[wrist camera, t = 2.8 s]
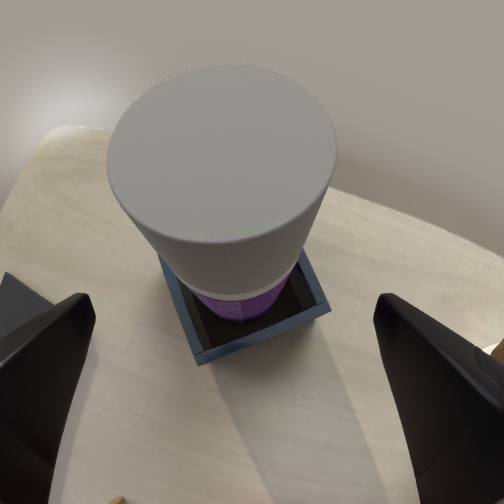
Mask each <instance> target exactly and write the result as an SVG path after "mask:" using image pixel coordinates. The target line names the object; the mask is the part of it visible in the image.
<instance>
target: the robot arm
mask: <svg viewBox="0 0 504 504" xmlns="http://www.w3.org/2000/svg"><path fill="white" fill-rule="evenodd" d="M95 321H96V315H95V311H94V309H93V306H92V303H91V300H90V297H89V295H88V294H86V293H75V294H73V295H72V296H70V297H68V298H66V299H65V300H63V301H61V302H60V303H58V304H56V305H54V306H53V307H51V308H49V309H48V310H46V311H44V312H43V313H41V314H39V315H38V316H36V317H34V318H33V319H31V320H29V321H28V322H26V323H25V324H23V325H21V326H20V327H18V328H16V329H15V330H13V331H12V332H10V333H8V334H7V335H5V336H4V337H2V338H0V504H48V501H49V495H50V489H51V484H52V479H53V474H54V468H55V464H56V459H57V455H58V451H59V446H60V442H61V438H62V435H63V431H64V427H65V423H66V420H67V416H68V413H69V409H70V406H71V403H72V399H73V396H74V393H75V390H76V387H77V384H78V381H79V378H80V375H81V372H82V369H83V366H84V363H85V360H86V356H87V352H88V348H89V344H90V340H91V336H92V332H93V329H94V325H95ZM373 322H374V326H375V331H376V335H377V339H378V344H379V348H380V353H381V357H382V362H383V365H384V368H385V371H386V375H387V378H388V381H389V384H390V387H391V390H392V393H393V397H394V400H395V403H396V406H397V410H398V413H399V417H400V420H401V424H402V427H403V431H404V435H405V438H406V442H407V446H408V450H409V454H410V458H411V462H412V466H413V470H414V474H415V479H416V484H417V489H418V494H419V498H420V503H421V504H504V364H503V363H502V362H500V361H498V360H496V359H495V358H493V357H492V356H490V355H489V354H487V353H486V352H484V351H483V350H481V349H480V348H478V347H477V346H475V347H474V345H473V344H472V343H470V342H469V341H467V340H466V339H464V338H463V337H461V336H460V335H458V334H457V333H455V332H454V331H452V330H451V329H449V328H447V327H446V326H444V325H443V324H441V323H440V322H438V321H436V320H435V319H433V318H432V317H430V316H429V315H427V314H425V313H424V312H422V311H421V310H419V309H417V308H416V307H414V306H413V305H411V304H409V303H408V302H406V301H405V300H403V299H401V298H400V297H398V296H397V295H395V294H393V293H383V294H381V295H380V296H379V298H378V301H377V304H376V308H375V312H374V315H373Z"/></svg>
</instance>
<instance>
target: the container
mask: <svg viewBox="0 0 504 504" xmlns="http://www.w3.org/2000/svg"><path fill="white" fill-rule="evenodd" d="M336 160H337V139H336V134H335V130H334V127H333V124H332V121H331V119H330V117H329V115H328V113H327V111H326V110H325V108H324V107H323V105H322V104H321V103H320V102H319V100H318V99H317V98H316V97H315V96H314V95H313V94H312V93H311V92H310V91H309V90H307V89H306V88H305V87H304V86H302V85H301V84H299V83H298V82H296V81H295V80H293V79H291V78H289V77H287V76H285V75H283V74H281V73H279V72H276V71H273V70H270V69H267V68H263V67H259V66H254V65H248V64H238V63H237V64H236V63H221V64H211V65H205V66H199V67H195V68H192V69H188V70H185V71H182V72H179V73H177V74H174V75H172V76H170V77H168V78H166V79H164V80H162V81H160V82H159V83H157V84H156V85H154V86H152V87H151V88H149V89H148V90H147V91H145V92H144V93H143V94H142V95H141V96H139V97H138V98H137V99H136V100H135V101H134V102H133V103H132V104H131V105H130V106H129V108H128V109H127V110H126V111H125V113H124V114H123V115H122V117H121V119H120V120H119V122H118V123H117V125H116V127H115V129H114V132H113V134H112V137H111V140H110V143H109V147H108V152H107V174H108V179H109V183H110V186H111V189H112V192H113V194H114V196H115V198H116V200H117V201H118V203H119V204H120V206H121V207H122V208H123V210H124V211H125V212H126V214H127V215H128V216H129V218H130V219H131V220H132V221H133V223H134V224H135V225H136V227H137V228H138V229H139V230H140V232H141V233H142V234H143V235H144V237H145V238H146V239H147V240H148V242H149V243H150V244H151V245H152V247H153V248H154V249H155V250H156V252H157V253H158V254H159V255H160V256H161V258H162V259H163V260H164V261H165V262H166V264H167V265H168V266H169V267H170V269H171V270H172V271H173V272H174V274H175V275H176V276H177V277H178V279H179V280H180V281H181V282H182V283H184V284H185V285H186V286H187V287H188V288H189V289H190V290H191V291H192V292H193V293H194V294H195V295H196V296H197V297H198V298H199V299H200V300H201V301H202V302H203V303H204V304H205V305H206V306H207V307H208V308H209V309H211V310H212V311H213V312H214V313H215V314H216V315H217V316H218V317H220V318H221V319H223V320H225V321H228V322H230V323H235V324H246V323H251V322H254V321H256V320H258V319H260V318H261V317H263V316H264V315H265V314H266V313H267V312H268V311H269V310H270V309H271V307H272V306H273V304H274V302H275V300H276V299H277V297H278V295H279V293H280V291H281V290H282V288H283V286H284V284H285V282H286V281H287V279H288V277H289V275H290V273H291V272H292V270H293V268H294V266H295V264H296V262H297V260H298V258H299V256H300V253H301V250H302V248H303V246H304V243H305V241H306V239H307V236H308V234H309V232H310V229H311V227H312V225H313V222H314V220H315V217H316V215H317V213H318V210H319V208H320V205H321V203H322V200H323V198H324V195H325V193H326V191H327V188H328V186H329V183H330V181H331V178H332V175H333V172H334V169H335V165H336Z"/></svg>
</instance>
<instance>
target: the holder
mask: <svg viewBox="0 0 504 504" xmlns="http://www.w3.org/2000/svg"><path fill="white" fill-rule="evenodd" d="M157 254H158V253H157ZM158 257H159V260H160V263H161V267H162V270H163V273H164V276H165V279H166V282H167V285H168V288H169V291H170V294H171V296H172V299H173V302H174V305H175V308H176V311H177V313H178V316H179V319H180V322H181V324H182V327H183V330H184V332H185V335H186V338H187V340H188V343H189V346H190V348H191V351H192V353H193V355H194V358H195V361H196V363H197V366H201V365H204V364H206V363H209V362H212V361H214V360H217V359H220V358H222V357H225V356H228V355H230V354H233V353H235V352H238V351H241V350H243V349H246V348H248V347H251V346H253V345H256V344H258V343H260V342H263V341H265V340H268V339H270V338H272V337H275V336H277V335H280V334H282V333H284V332H286V331H289V330H291V329H293V328H296V327H298V326H300V325H302V324H305V323H307V322H309V321H311V320H313V319H316V318H318V317H320V316H322V315H324V314H326V313H328V312H331V311H332V310H331V308H330V305H329V303H328V301H327V299H326V296H325V294H324V292H323V290H322V288H321V286H320V283H319V281H318V279H317V277H316V275H315V273H314V270H313V268H312V266H311V264H310V262H309V260H308V258H307V256H306V254H305V251H304V249H303V248H302V250H301V253H300V256H299V258H298V260H297V262H296V264H295V266H294V268H293V270H292V272H291V273H290V275H289V277H288V278H289V280H290V283H291V285H292V287H293V289H294V292H295V294H296V296H297V298H298V301H299V303H300V305H301V307H302V310H303V312H301V313H298V314H296V315H294V316H292V317H289V318H287V319H285V320H282V321H280V322H278V323H275V324H273V325H271V326H268V327H266V328H263V329H261V330H258V331H256V332H254V333H251V334H249V335H246V336H244V337H241V338H239V339H236V340H234V341H231V342H228V343H226V344H223V345H221V346H218V347H215V348H212V346H211V344H210V341H209V339H208V336H207V333H206V331H205V328H204V326H203V323H202V321H201V318H200V315H199V313H198V310H197V308H196V305H195V302H194V299H193V297H192V294H191V291H190V289H189V288H188V287H187V286H186V285H185V284H184V283H182V282H181V281H180V280H179V279H178V277H177V276H176V275H175V274H174V272H173V271H172V270H171V269H170V267H169V266H168V265H167V264H166V262H165V261H164V260H163V259H162V258H161V256H160V255H159V254H158Z"/></svg>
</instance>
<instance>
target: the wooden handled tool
mask: <svg viewBox="0 0 504 504" xmlns="http://www.w3.org/2000/svg"><path fill="white" fill-rule="evenodd" d="M109 504H125V500H124V499H123V498H122V497H118V498H115V499H113V500H112V501H111V502H110V503H109Z"/></svg>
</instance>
